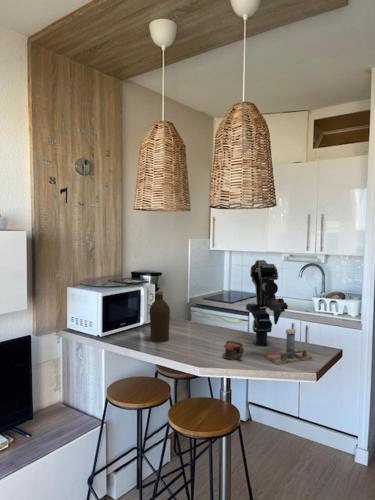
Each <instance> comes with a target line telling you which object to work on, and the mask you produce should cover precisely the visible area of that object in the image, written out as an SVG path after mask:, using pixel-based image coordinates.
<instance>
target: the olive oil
mask: <svg viewBox="0 0 375 500" xmlns="http://www.w3.org/2000/svg"><path fill="white" fill-rule="evenodd" d="M155 295H156V299H155V300H154V301H153V303H151V305H150V307H149V313H148V314H149V324H150V325H149V326H150V340H151V342H154V343H165V342H168V341H169V340H170V320H171V308H170V305H169V304H168V303H167V302H166V301H165V300H164V294H163V291H156V294H155Z"/></svg>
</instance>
